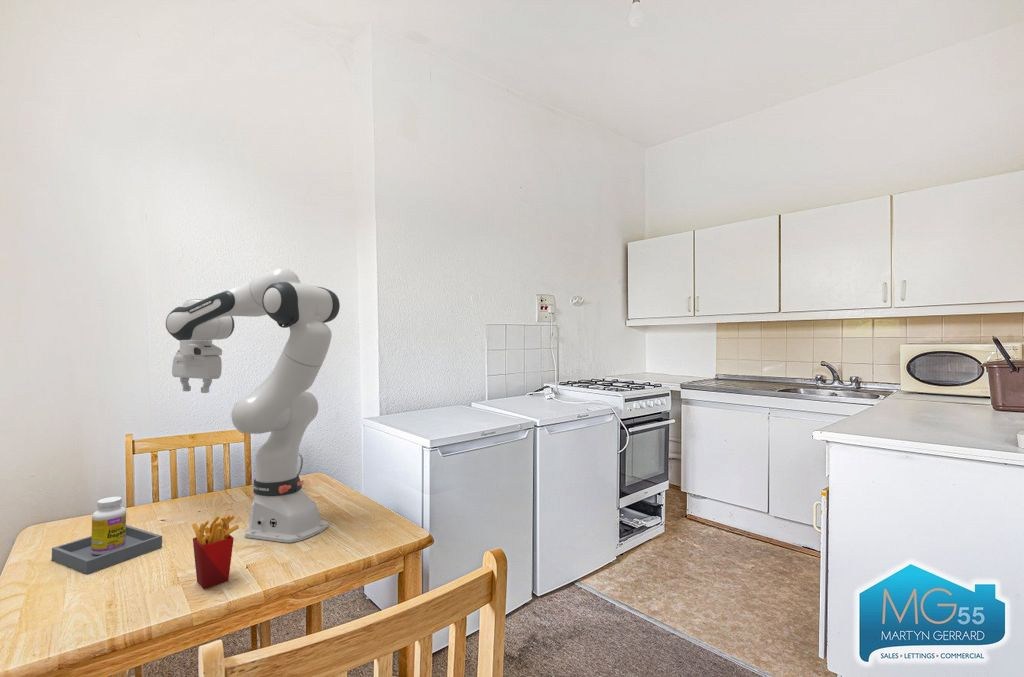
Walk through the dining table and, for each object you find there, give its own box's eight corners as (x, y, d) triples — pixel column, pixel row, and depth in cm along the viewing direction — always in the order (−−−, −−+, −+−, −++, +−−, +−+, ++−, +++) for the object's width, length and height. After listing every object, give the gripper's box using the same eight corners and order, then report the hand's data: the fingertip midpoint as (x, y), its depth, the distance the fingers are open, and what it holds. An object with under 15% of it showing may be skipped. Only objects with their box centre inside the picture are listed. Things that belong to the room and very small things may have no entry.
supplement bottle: (105, 557, 117) (106, 505, 117) (84, 554, 118) (84, 502, 118) (132, 546, 123) (133, 496, 123) (111, 543, 125) (112, 494, 125)
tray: (162, 547, 125) (162, 535, 125) (86, 574, 110) (86, 561, 110) (127, 536, 131) (127, 525, 131) (51, 560, 117) (51, 547, 117)
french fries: (190, 581, 107) (191, 515, 107) (231, 569, 113) (232, 505, 113) (203, 596, 101) (203, 525, 101) (245, 582, 108) (246, 515, 108)
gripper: (166, 349, 157) (165, 391, 157) (206, 350, 149) (205, 394, 148) (186, 349, 163) (185, 389, 163) (225, 349, 154) (225, 392, 154)
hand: (195, 392), depth 156 cm, fingers open, 8 cm apart
